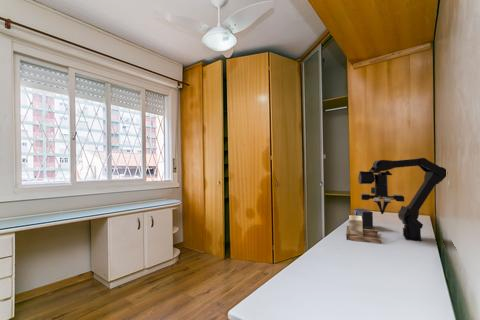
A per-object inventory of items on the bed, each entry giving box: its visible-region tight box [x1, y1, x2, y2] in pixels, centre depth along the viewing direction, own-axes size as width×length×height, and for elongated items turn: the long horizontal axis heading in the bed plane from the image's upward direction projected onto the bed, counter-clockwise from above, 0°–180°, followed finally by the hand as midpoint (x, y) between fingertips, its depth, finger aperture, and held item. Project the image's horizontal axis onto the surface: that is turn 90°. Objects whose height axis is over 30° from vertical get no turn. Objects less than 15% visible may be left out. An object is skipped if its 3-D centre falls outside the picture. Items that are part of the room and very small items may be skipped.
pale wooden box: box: [348, 214, 363, 237], centre depth 121 cm, size 6×11×9 cm, turn 154°
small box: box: [353, 208, 374, 230], centre depth 137 cm, size 11×6×10 cm, turn 1°
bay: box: [345, 225, 382, 244], centre depth 120 cm, size 15×16×3 cm
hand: (382, 214), depth 118 cm, fingers closed
